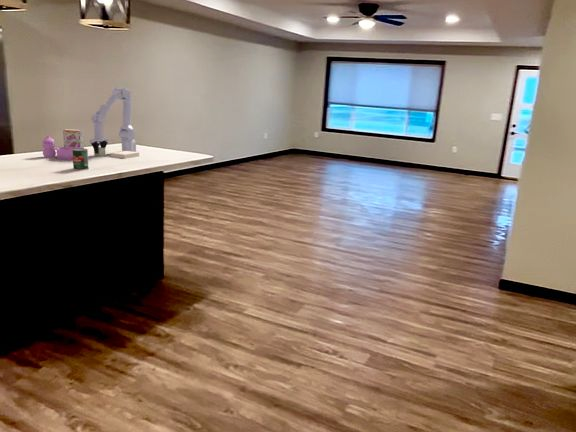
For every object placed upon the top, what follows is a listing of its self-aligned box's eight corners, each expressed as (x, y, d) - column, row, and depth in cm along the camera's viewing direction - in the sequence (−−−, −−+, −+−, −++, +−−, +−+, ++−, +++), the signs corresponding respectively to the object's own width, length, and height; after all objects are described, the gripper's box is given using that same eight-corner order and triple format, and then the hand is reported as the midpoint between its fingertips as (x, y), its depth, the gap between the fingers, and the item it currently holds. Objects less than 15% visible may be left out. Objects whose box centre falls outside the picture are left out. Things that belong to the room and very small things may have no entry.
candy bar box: (64, 155, 322) (62, 129, 318) (68, 154, 327) (66, 128, 323) (80, 156, 321) (79, 130, 317) (84, 155, 326) (83, 130, 322)
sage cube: (99, 154, 332) (99, 147, 331) (105, 155, 330) (105, 147, 329) (94, 155, 327) (93, 147, 326) (100, 156, 326) (99, 148, 324)
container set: (88, 157, 318) (86, 137, 315) (76, 161, 304) (74, 139, 300) (50, 155, 320) (49, 134, 317) (37, 158, 305) (35, 136, 302)
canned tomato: (72, 169, 276) (71, 150, 273) (74, 167, 283) (73, 148, 280) (87, 170, 278) (86, 150, 275) (89, 167, 285) (88, 148, 282)
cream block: (125, 155, 339) (125, 150, 339) (139, 156, 335) (139, 152, 334) (110, 157, 327) (110, 152, 326) (124, 159, 322) (124, 154, 322)
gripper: (102, 131, 333) (103, 151, 336) (85, 132, 320) (86, 153, 323) (110, 131, 330) (111, 152, 334) (94, 133, 317) (95, 154, 321)
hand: (99, 152), depth 328 cm, fingers closed on sage cube, 5 cm apart
